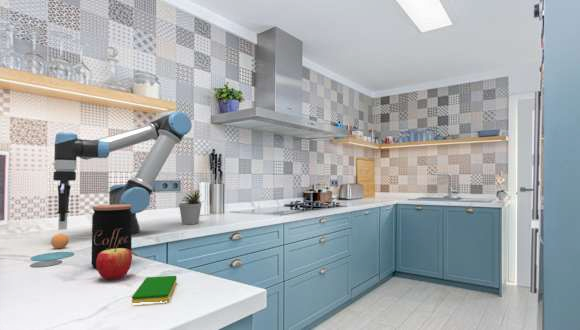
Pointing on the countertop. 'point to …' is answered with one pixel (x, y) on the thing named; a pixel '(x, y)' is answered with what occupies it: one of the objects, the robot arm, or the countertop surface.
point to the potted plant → (190, 210)
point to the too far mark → (46, 263)
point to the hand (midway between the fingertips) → (62, 229)
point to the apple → (114, 262)
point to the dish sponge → (155, 289)
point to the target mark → (52, 256)
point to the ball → (59, 241)
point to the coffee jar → (111, 228)
